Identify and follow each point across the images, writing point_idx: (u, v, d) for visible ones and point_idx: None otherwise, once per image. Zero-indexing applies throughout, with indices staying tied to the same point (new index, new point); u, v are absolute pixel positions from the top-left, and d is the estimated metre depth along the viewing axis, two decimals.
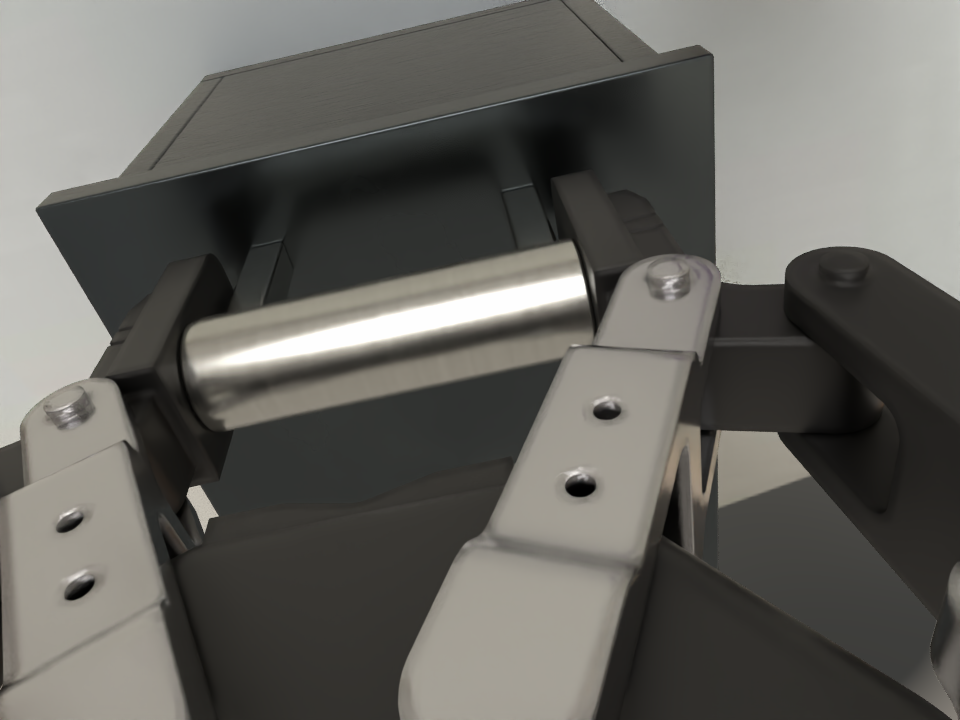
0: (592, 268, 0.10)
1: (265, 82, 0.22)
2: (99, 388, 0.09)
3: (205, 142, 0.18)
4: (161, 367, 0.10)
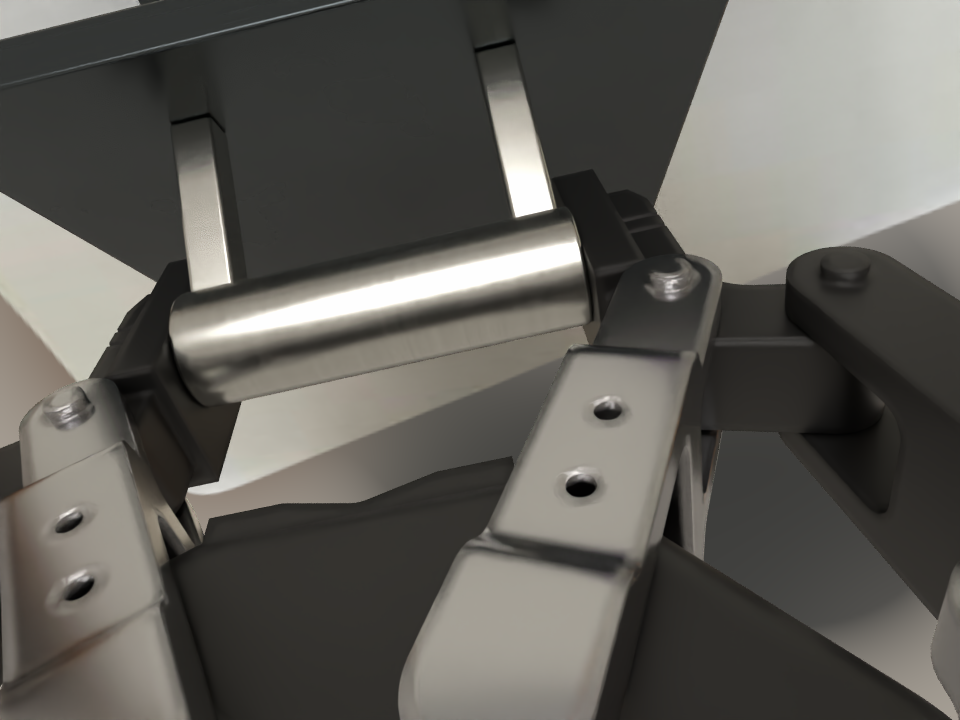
0: (593, 268, 0.10)
1: None
2: (98, 389, 0.09)
3: None
4: (160, 368, 0.10)
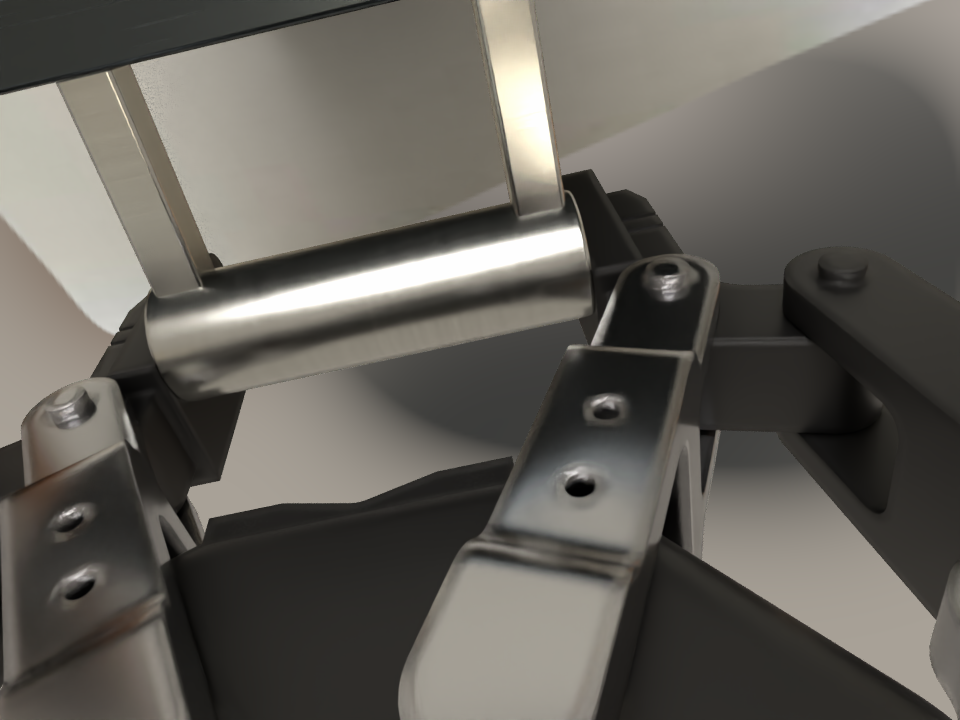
0: None
1: None
2: (100, 388, 0.09)
3: None
4: None
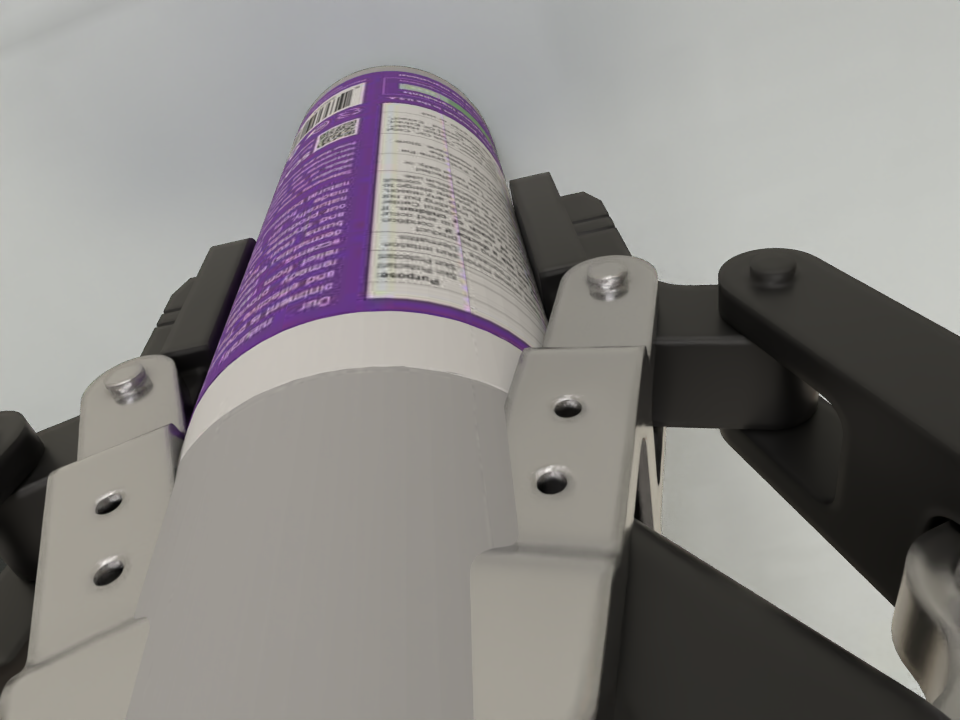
0: (538, 269, 0.10)
1: None
2: (156, 365, 0.10)
3: None
4: (213, 345, 0.10)
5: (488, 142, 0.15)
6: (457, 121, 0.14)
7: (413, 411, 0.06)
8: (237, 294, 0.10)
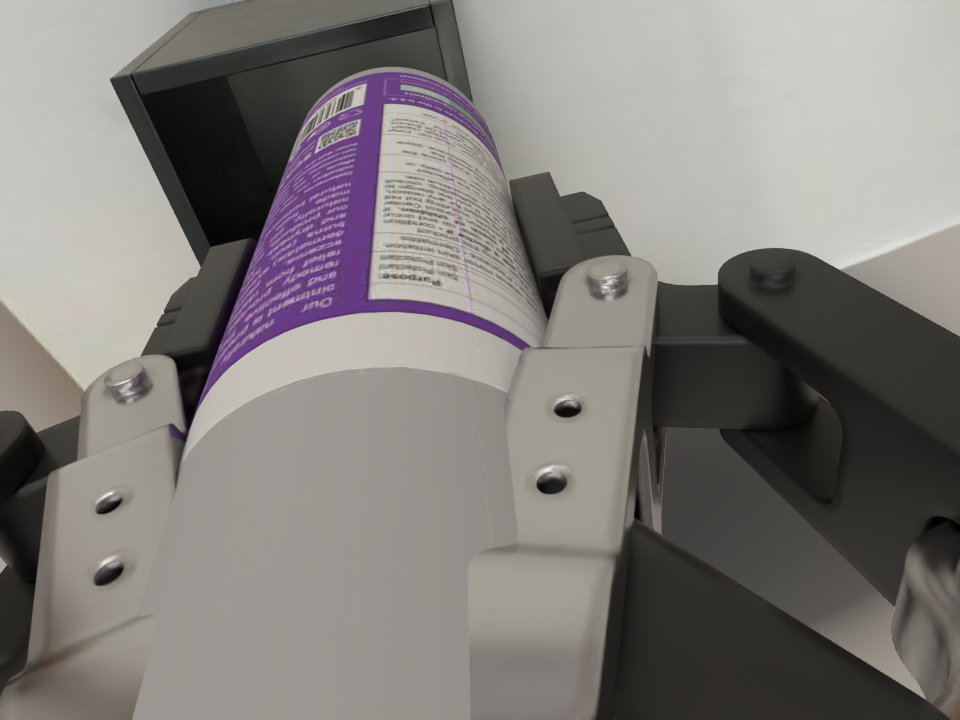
0: (538, 269, 0.10)
1: (227, 13, 0.33)
2: (156, 364, 0.10)
3: (185, 42, 0.29)
4: (213, 345, 0.10)
5: (489, 143, 0.15)
6: (458, 122, 0.14)
7: (416, 411, 0.06)
8: (239, 295, 0.10)
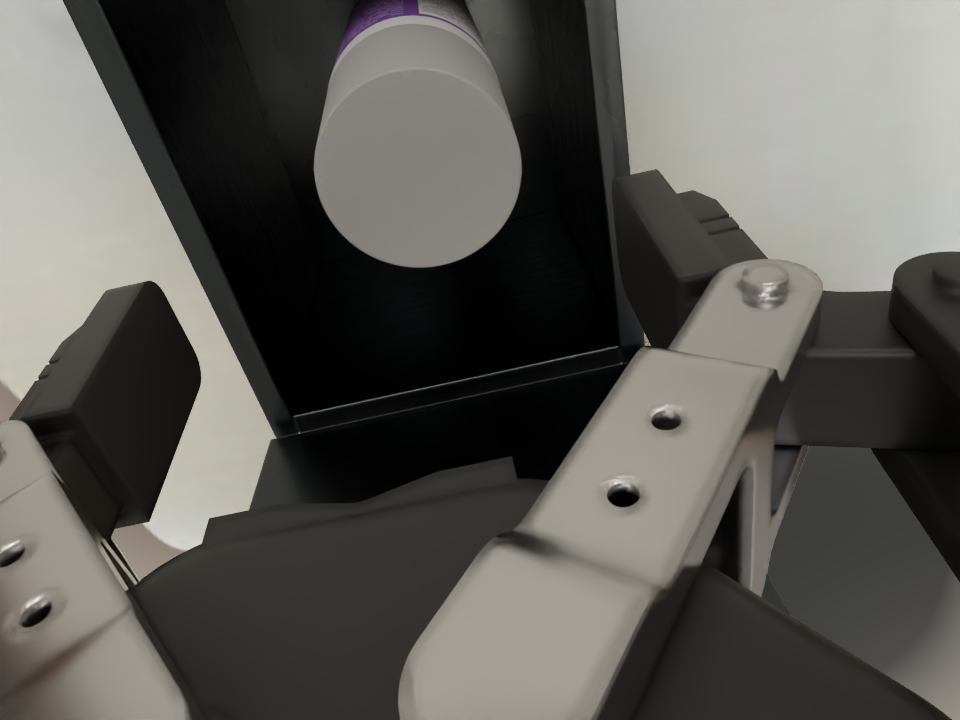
0: (676, 274, 0.09)
1: None
2: (10, 432, 0.09)
3: None
4: (81, 407, 0.10)
5: (469, 11, 0.26)
6: None
7: (439, 33, 0.17)
8: (347, 34, 0.21)
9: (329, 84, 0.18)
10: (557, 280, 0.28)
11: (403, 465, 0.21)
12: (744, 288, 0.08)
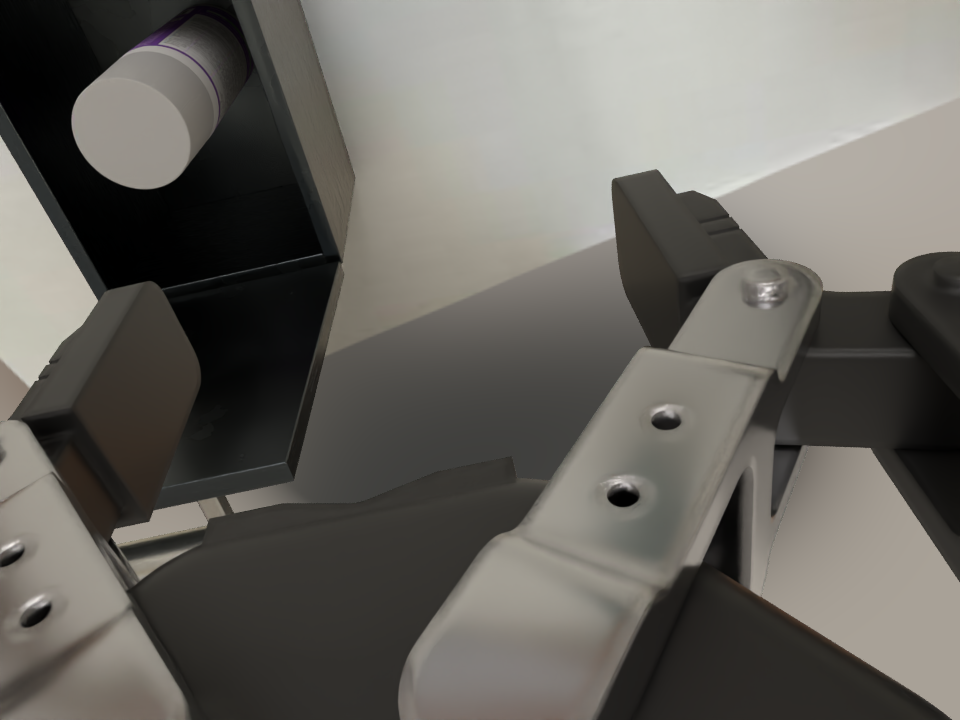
0: (675, 274, 0.09)
1: None
2: (10, 432, 0.09)
3: None
4: (81, 407, 0.10)
5: (240, 36, 0.39)
6: (224, 24, 0.38)
7: (157, 57, 0.30)
8: None
9: None
10: (309, 218, 0.41)
11: None
12: (744, 288, 0.08)
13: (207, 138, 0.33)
